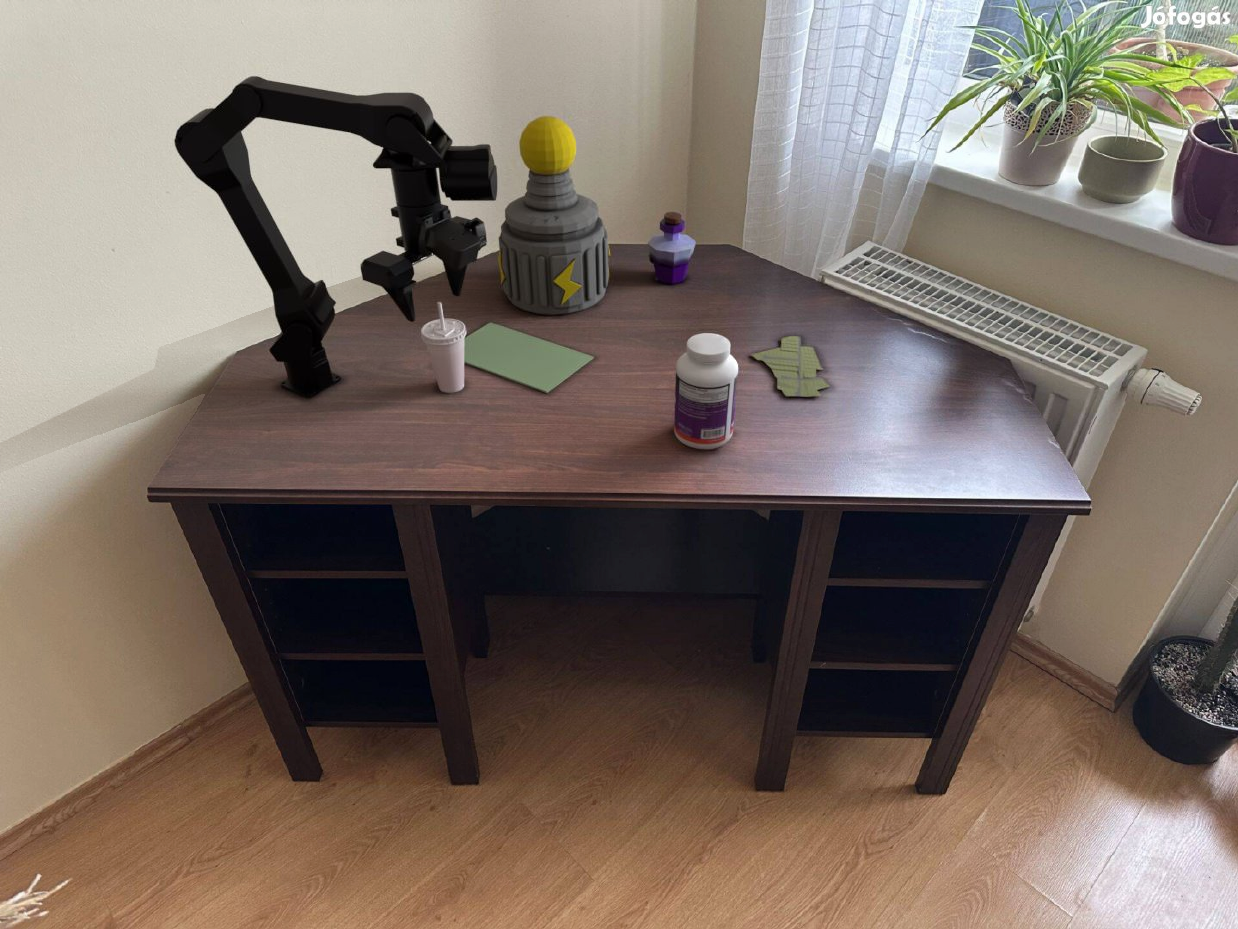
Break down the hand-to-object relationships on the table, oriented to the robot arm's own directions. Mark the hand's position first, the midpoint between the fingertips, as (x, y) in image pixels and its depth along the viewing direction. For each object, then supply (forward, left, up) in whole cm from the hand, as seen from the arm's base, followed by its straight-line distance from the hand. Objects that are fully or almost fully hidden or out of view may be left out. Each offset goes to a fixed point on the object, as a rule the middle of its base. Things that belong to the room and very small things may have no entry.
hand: (434, 308), depth 123 cm
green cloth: (+4, +12, -12) cm, 18 cm away
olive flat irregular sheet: (+41, +32, -13) cm, 53 cm away
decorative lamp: (-4, +33, -13) cm, 36 cm away
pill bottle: (+39, +9, -13) cm, 42 cm away
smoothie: (+1, 0, -13) cm, 13 cm away
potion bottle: (+10, +49, -13) cm, 52 cm away
